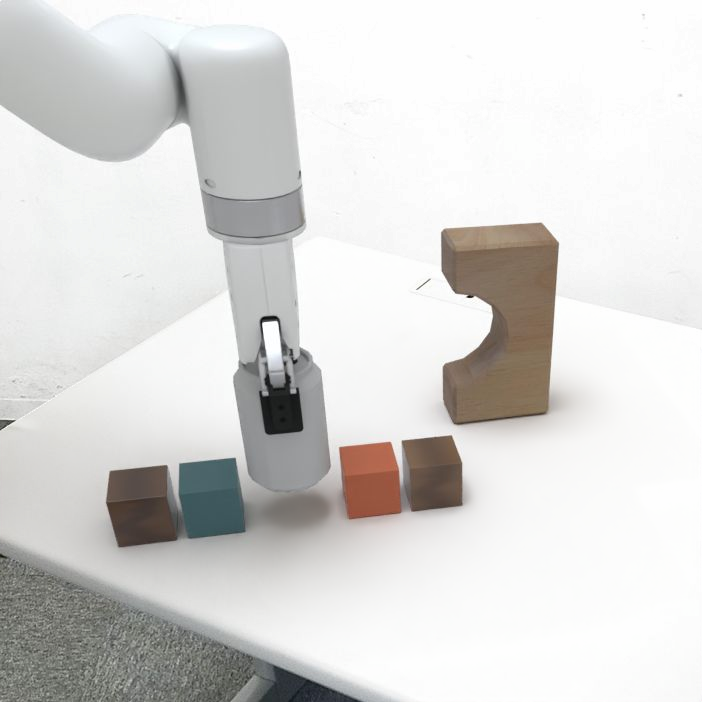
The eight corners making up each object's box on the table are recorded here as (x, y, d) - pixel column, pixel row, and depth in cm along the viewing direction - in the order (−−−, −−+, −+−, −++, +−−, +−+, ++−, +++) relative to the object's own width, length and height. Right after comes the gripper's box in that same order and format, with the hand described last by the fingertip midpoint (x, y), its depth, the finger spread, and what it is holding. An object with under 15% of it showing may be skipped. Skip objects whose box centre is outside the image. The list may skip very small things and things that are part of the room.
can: (344, 459, 92) (334, 345, 84) (311, 504, 86) (297, 385, 78) (271, 446, 93) (254, 332, 85) (234, 489, 87) (213, 371, 80)
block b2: (188, 538, 88) (178, 494, 85) (188, 506, 91) (179, 463, 88) (245, 531, 89) (237, 487, 86) (243, 500, 93) (235, 457, 90)
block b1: (118, 547, 86) (105, 502, 83) (121, 514, 90) (109, 470, 87) (176, 540, 87) (166, 495, 84) (177, 508, 91) (167, 464, 88)
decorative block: (452, 425, 105) (451, 248, 93) (442, 399, 109) (439, 226, 97) (549, 415, 108) (560, 241, 96) (535, 390, 112) (544, 220, 100)
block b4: (411, 511, 93) (409, 468, 90) (403, 482, 96) (401, 440, 93) (462, 505, 94) (462, 462, 91) (452, 476, 98) (451, 434, 94)
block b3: (348, 519, 91) (344, 475, 88) (342, 489, 95) (338, 446, 92) (401, 512, 92) (399, 469, 89) (393, 483, 96) (391, 441, 93)
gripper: (203, 173, 80) (234, 364, 91) (204, 254, 67) (240, 466, 78) (295, 170, 81) (315, 358, 92) (315, 248, 68) (335, 456, 79)
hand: (281, 406), depth 85 cm, fingers closed on can, 7 cm apart
